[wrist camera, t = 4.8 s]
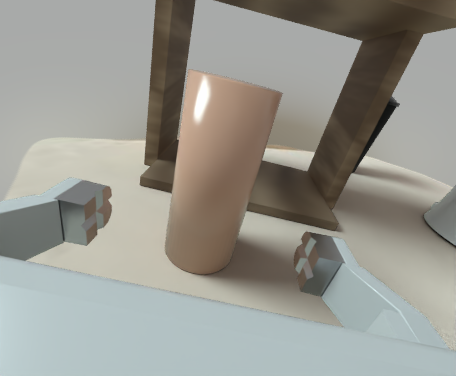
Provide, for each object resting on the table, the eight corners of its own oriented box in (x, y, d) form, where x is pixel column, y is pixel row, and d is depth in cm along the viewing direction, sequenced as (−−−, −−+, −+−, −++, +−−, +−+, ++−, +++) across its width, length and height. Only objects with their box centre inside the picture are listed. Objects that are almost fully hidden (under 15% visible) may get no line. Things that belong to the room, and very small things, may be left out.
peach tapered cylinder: (233, 233, 21) (276, 89, 15) (230, 281, 16) (290, 97, 11) (175, 220, 20) (197, 69, 15) (154, 264, 16) (177, 68, 10)
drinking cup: (319, 163, 46) (370, 49, 37) (327, 157, 52) (372, 57, 43) (359, 179, 43) (426, 58, 34) (362, 170, 49) (419, 66, 40)
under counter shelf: (313, 179, 37) (382, 25, 28) (347, 233, 25) (493, -12, 15) (166, 143, 36) (186, -30, 27) (125, 181, 24) (134, -116, 14)
